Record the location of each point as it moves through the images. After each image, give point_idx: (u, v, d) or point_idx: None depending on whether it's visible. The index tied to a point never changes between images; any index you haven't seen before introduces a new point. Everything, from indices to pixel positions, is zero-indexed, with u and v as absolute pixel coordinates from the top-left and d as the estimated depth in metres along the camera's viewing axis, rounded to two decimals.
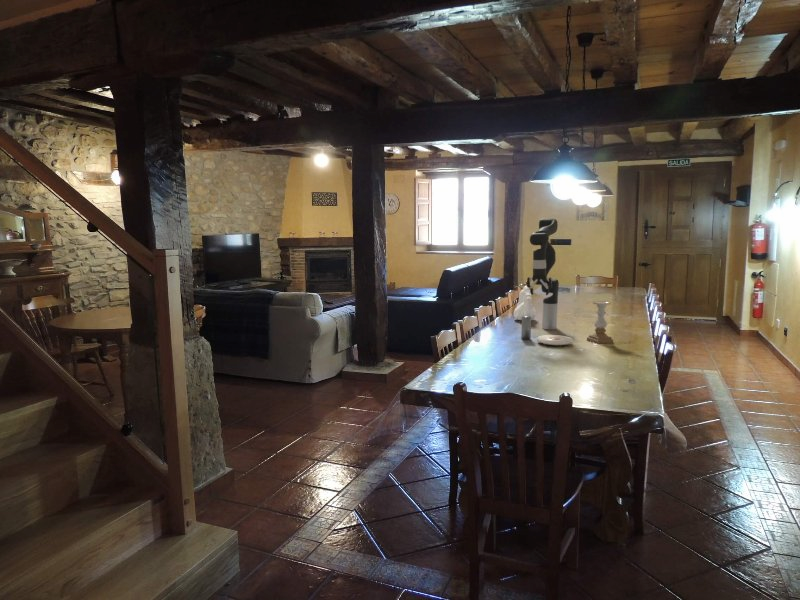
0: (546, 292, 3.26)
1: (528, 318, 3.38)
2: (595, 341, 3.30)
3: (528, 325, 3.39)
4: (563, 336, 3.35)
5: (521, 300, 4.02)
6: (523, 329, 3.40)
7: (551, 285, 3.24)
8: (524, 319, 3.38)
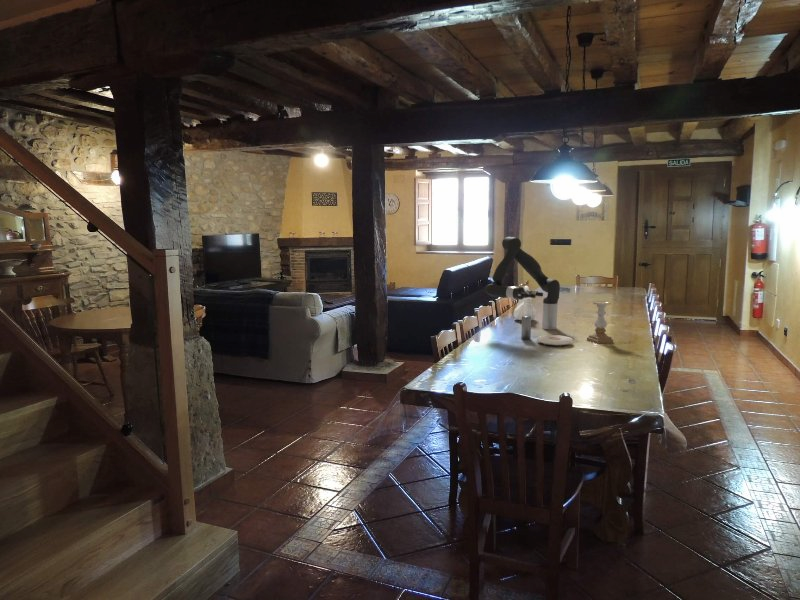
0: (532, 297, 3.29)
1: (528, 318, 3.38)
2: (595, 341, 3.30)
3: (528, 325, 3.39)
4: (563, 336, 3.35)
5: (521, 300, 4.02)
6: (523, 329, 3.40)
7: (524, 297, 3.30)
8: (524, 319, 3.38)
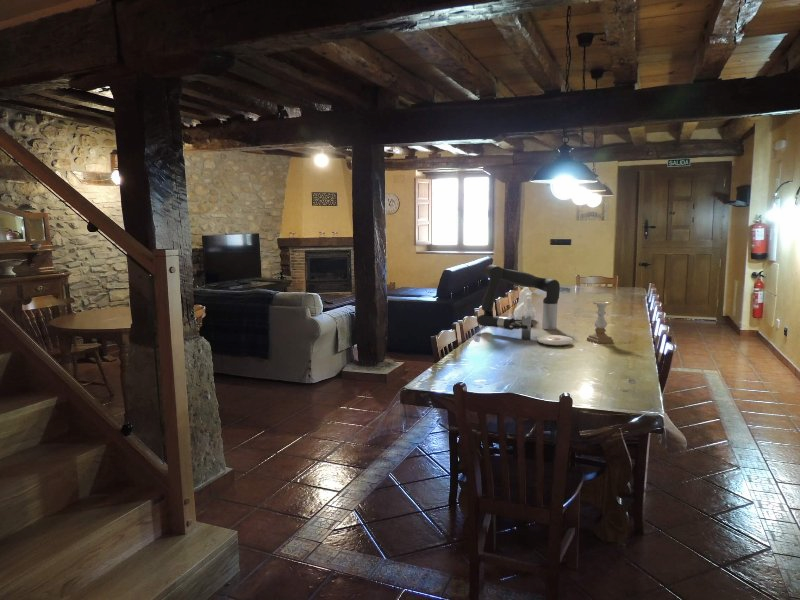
0: (524, 328, 3.39)
1: (528, 318, 3.38)
2: (595, 341, 3.30)
3: (528, 325, 3.39)
4: (563, 336, 3.35)
5: (521, 300, 4.02)
6: (523, 329, 3.40)
7: (516, 328, 3.40)
8: (524, 319, 3.38)
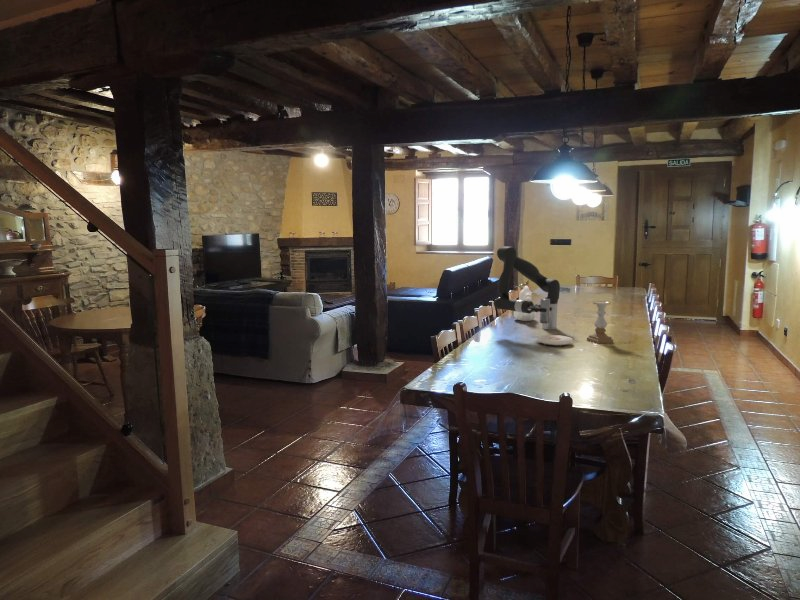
0: (543, 311, 3.29)
1: (547, 301, 3.28)
2: (595, 341, 3.30)
3: (547, 308, 3.29)
4: (563, 336, 3.35)
5: None
6: (542, 312, 3.30)
7: (534, 311, 3.30)
8: (543, 302, 3.28)
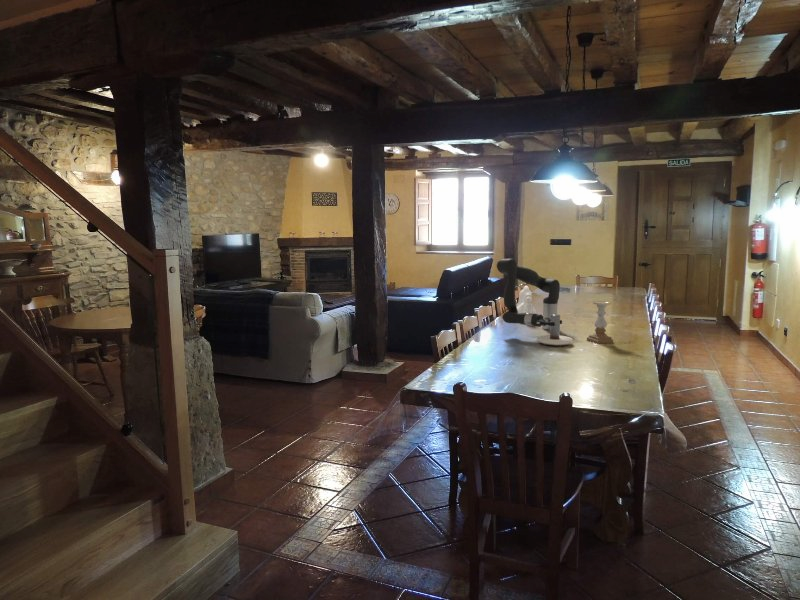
0: (551, 325, 3.25)
1: (557, 316, 3.25)
2: (595, 341, 3.30)
3: (557, 324, 3.26)
4: (563, 336, 3.35)
5: (521, 300, 4.02)
6: (552, 328, 3.27)
7: (543, 325, 3.26)
8: (553, 318, 3.25)
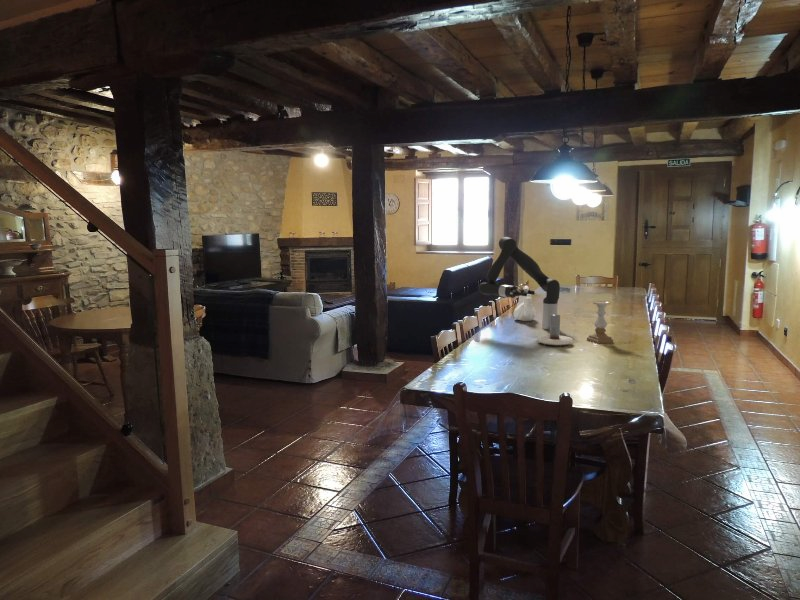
0: (524, 295, 3.37)
1: (557, 316, 3.25)
2: (595, 341, 3.30)
3: (557, 324, 3.26)
4: (563, 336, 3.35)
5: (521, 300, 4.02)
6: (552, 328, 3.27)
7: (515, 295, 3.38)
8: (553, 318, 3.25)
